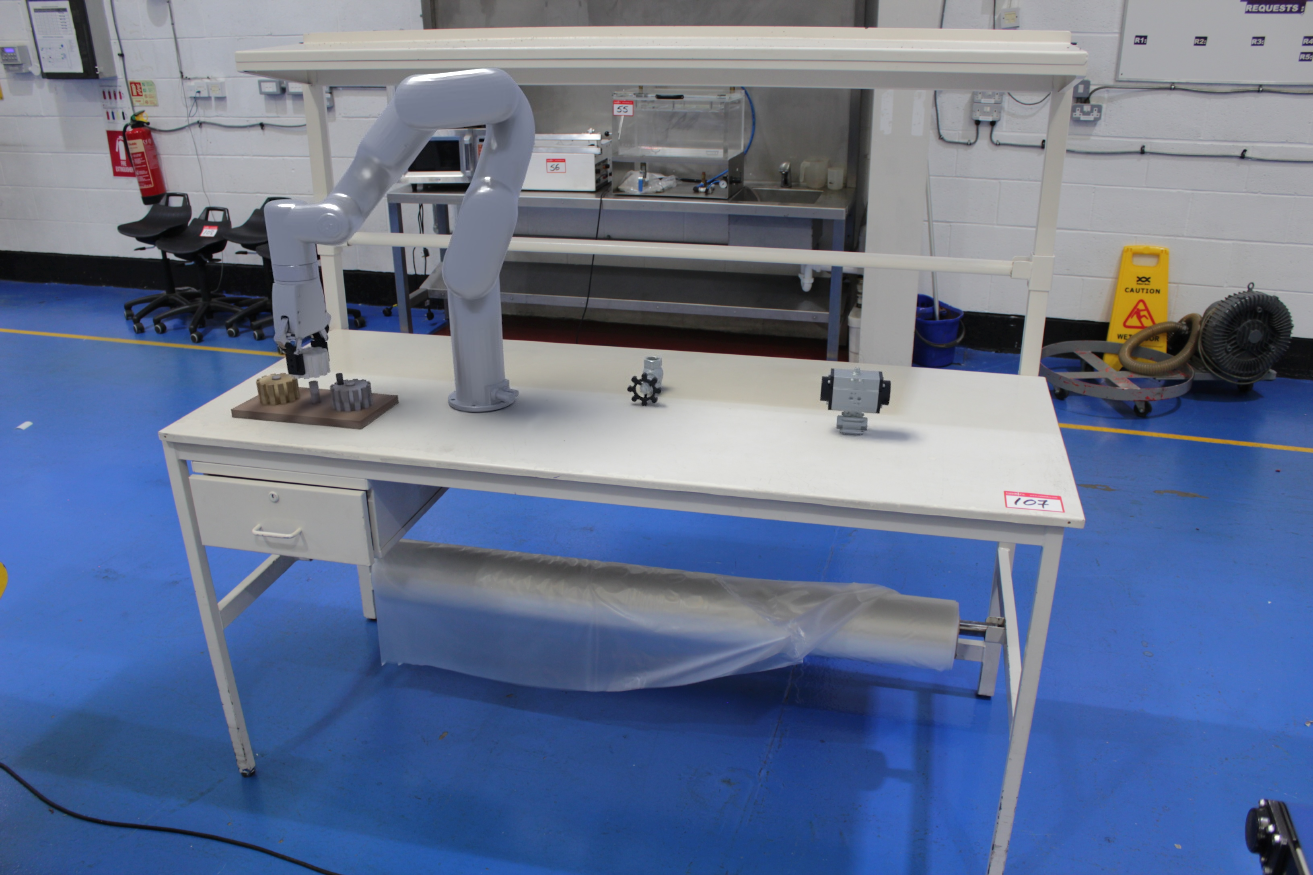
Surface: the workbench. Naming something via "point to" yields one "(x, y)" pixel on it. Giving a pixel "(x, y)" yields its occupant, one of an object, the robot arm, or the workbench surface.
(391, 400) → the gear board
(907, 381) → the workbench surface
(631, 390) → the valve
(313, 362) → the gear
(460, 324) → the robot arm
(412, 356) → the workbench surface
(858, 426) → the pneumatic valve
